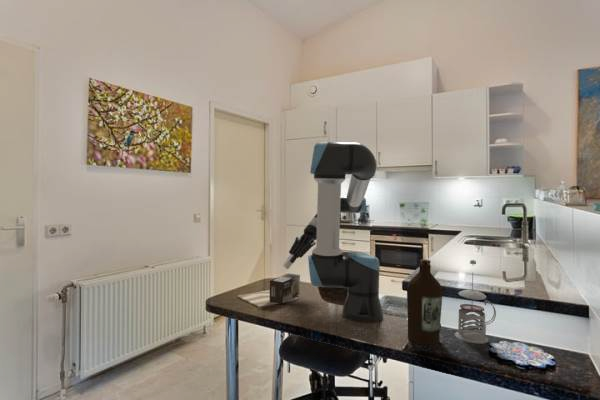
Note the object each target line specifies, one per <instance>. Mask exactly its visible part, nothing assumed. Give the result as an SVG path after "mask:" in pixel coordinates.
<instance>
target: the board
mask: <svg viewBox="0 0 600 400" xmlns="http://www.w3.org/2000/svg"><path fill="white" fill-rule="evenodd" d="M236 297H237V298H239V299H241V300H243V301H244V302H246V303H248V304H251V305H253V306H255V307H256V308H264V307H265V308H266V307H269V306H274V305H279V304H281V303H276V302H270V289H269V290H262V291H257V292H250V293H246V294H240V295H237V296H236ZM299 299H300V298H299V297H297V296H295V297H293V298H292V299H290V300H288V301H286V302H285V303H289V302H293V301H298V300H299Z"/></svg>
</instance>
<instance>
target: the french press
mask: <svg viewBox="0 0 600 400" xmlns="http://www.w3.org/2000/svg"><path fill="white" fill-rule="evenodd" d="M469 264H471V265H477V262H476V260H474V259H473V260H471V259H470V261H469ZM471 278H472V280H471V281H472V282H471V283H472V284H471V285H472V286H471V289H464V290H461V291H459V292H458V295H459V296H460V297H462V298H464V299H469V300H471V303H464V304H463V303H462V304H460V305H459V307H460V309H458V326H457V327H458V328H457V329H458V330H457V331H456V332H455V333H454V336H455V337H456V338H457V339H459V340H460V341H464V342H465V343H466V342H467V343H471V344H486V343H489V339H488V337H487V336H486V331H487V325H490V324H492V323H493V322H494V321H495V319H496V315H497V311H496V308H495V307H494V305H493V303H492V302H490V300H488V299H487V295H485V294H484V293H483V292H481V291H478V290H476V289H474V273H472V277H471ZM474 300H476V301H477V300H478V301H480V300H484V306H487V304H489V305H491V306H492V309H493V316H492V318H490V320H488V321H486V314H485V312H484V311H485V307H483V306H480V305H476V304H473V301H474ZM474 313H475V314H474Z"/></svg>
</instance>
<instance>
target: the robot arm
mask: <svg viewBox="0 0 600 400" xmlns="http://www.w3.org/2000/svg"><path fill="white" fill-rule="evenodd" d="M377 167H378V166H377V160H376V157H375V155H374V154H373V152H372V150H370V149H369V148H368V147H367V146H366V145H364V144H362V143H359V142H344V141H343V142H342V141H341V142H338V141H323V142H321V141H320V142H319V141H318V142H316V143H315V144H314V146H313V153H312V158H311V165H310V171H309V173H310V174H311V175H313V179H314V180H315V181H316V183H317V200H316V201H317V205H316V209H317V210H316V211H317V212H316V214H315V215H314V216H313V217H312V219H311V220H310V221H309V222H308V224H307V225H306V226H305V228H304V229H303V234H302V235H301V236H300V237H298V236H297V237H295V240H294V242H293V244H292V246H291V248H290V249H289V251H288V253H289V254H290V255H289V256H288V257H287V259H286V260H285V262H283V264H282V266H283V267H284V268H285V269H286V270H290V268H291V266H292V265H293V264H294V263H295V262H296V260H297V259H299V258H300V259H301V258H302V257H304V255H306V253H307V252H308V251H310V249H312V247H314V246H315V247H314V248H313V249H312V250H311V254H309V255H308V257H307V258H308V260H307V261H308V270H309V271H308V272H309V279H310V283H311V285H312V286H314V287H319V288H320V287H321V288H344V289H345V288H347V295H346V297H345V300H344V304H343V307H342V312H341V313H342V316H343V318H346V319H347V320H351V321H352V322H353V321H354V322H359V323H375V322H379V321H381V320H383V318H384V309H383V308H382V304H381V299H380V292H379V291H380V271H381V269H380V260H379V258H378V257H376V256H374V255H372V254H369V253H364V252H356V251H354V252H353V251H351V252H348V254H347V255H344V252H343V250H342V249H341V248H340V228H341V226H340V225H341V213H342V214H343V213H344V214H345V213H346V214H347V213H350V214H351V213H352V214H363V213H365V212H366V209H367V199H366V198H365V196H366V194H367V193H366V192H367V190H368V187H369V184H370V181H371V180H372V179H373V178H374V176H375V175H376V171H377ZM346 175H351V177H350V181H349V186H348V190H347V194H346V196H341V195H342V193H341V192H342V183H343V182H344V181H345V180H346ZM315 241H316V242H315Z"/></svg>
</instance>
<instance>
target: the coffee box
mask: <svg viewBox="0 0 600 400" xmlns="http://www.w3.org/2000/svg"><path fill="white" fill-rule="evenodd" d="M300 282H301V275H300V274H297V273H285V274H283V275H281V276H278V277H276V278H273V279H270V280H269V290H270V302H276V303H280V304H284V303H287V302H286V301H288V300H290V299H292V298H293V297H297V296H299V295H300V288H301V286H300Z"/></svg>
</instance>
